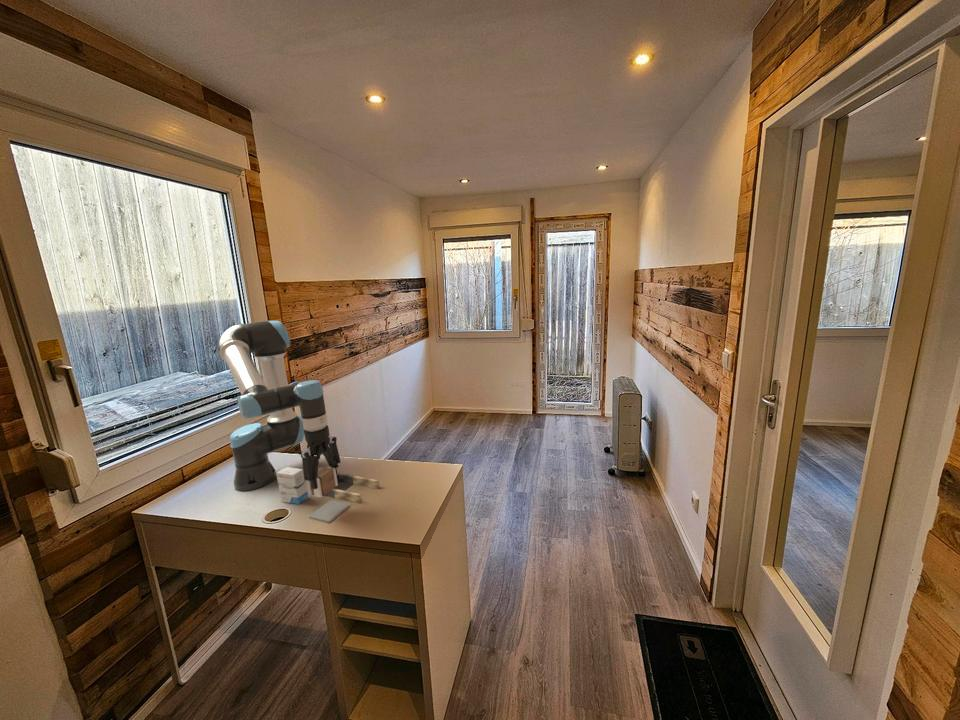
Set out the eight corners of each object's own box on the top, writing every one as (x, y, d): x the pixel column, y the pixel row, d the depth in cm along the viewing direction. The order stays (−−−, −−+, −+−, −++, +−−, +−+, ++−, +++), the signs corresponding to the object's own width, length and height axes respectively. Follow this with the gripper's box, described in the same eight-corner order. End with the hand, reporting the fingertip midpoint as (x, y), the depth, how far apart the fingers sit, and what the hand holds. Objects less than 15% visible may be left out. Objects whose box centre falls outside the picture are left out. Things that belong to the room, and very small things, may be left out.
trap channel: (318, 494, 142) (317, 486, 142) (339, 479, 152) (338, 472, 152) (360, 503, 135) (359, 495, 134) (379, 487, 144) (378, 480, 144)
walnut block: (311, 494, 127) (308, 476, 126) (323, 485, 133) (320, 467, 131) (324, 496, 126) (321, 477, 124) (335, 486, 131) (332, 468, 130)
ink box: (309, 497, 141) (304, 468, 138) (299, 504, 136) (293, 475, 134) (291, 494, 144) (286, 466, 141) (280, 501, 139) (275, 472, 137)
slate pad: (308, 517, 128) (308, 516, 128) (330, 501, 137) (330, 500, 137) (328, 523, 124) (328, 521, 124) (350, 506, 133) (349, 504, 133)
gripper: (300, 440, 114) (312, 508, 119) (345, 417, 131) (354, 478, 136) (282, 437, 117) (295, 504, 122) (329, 416, 134) (338, 475, 139)
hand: (326, 490), depth 129 cm, fingers closed on walnut block, 6 cm apart
